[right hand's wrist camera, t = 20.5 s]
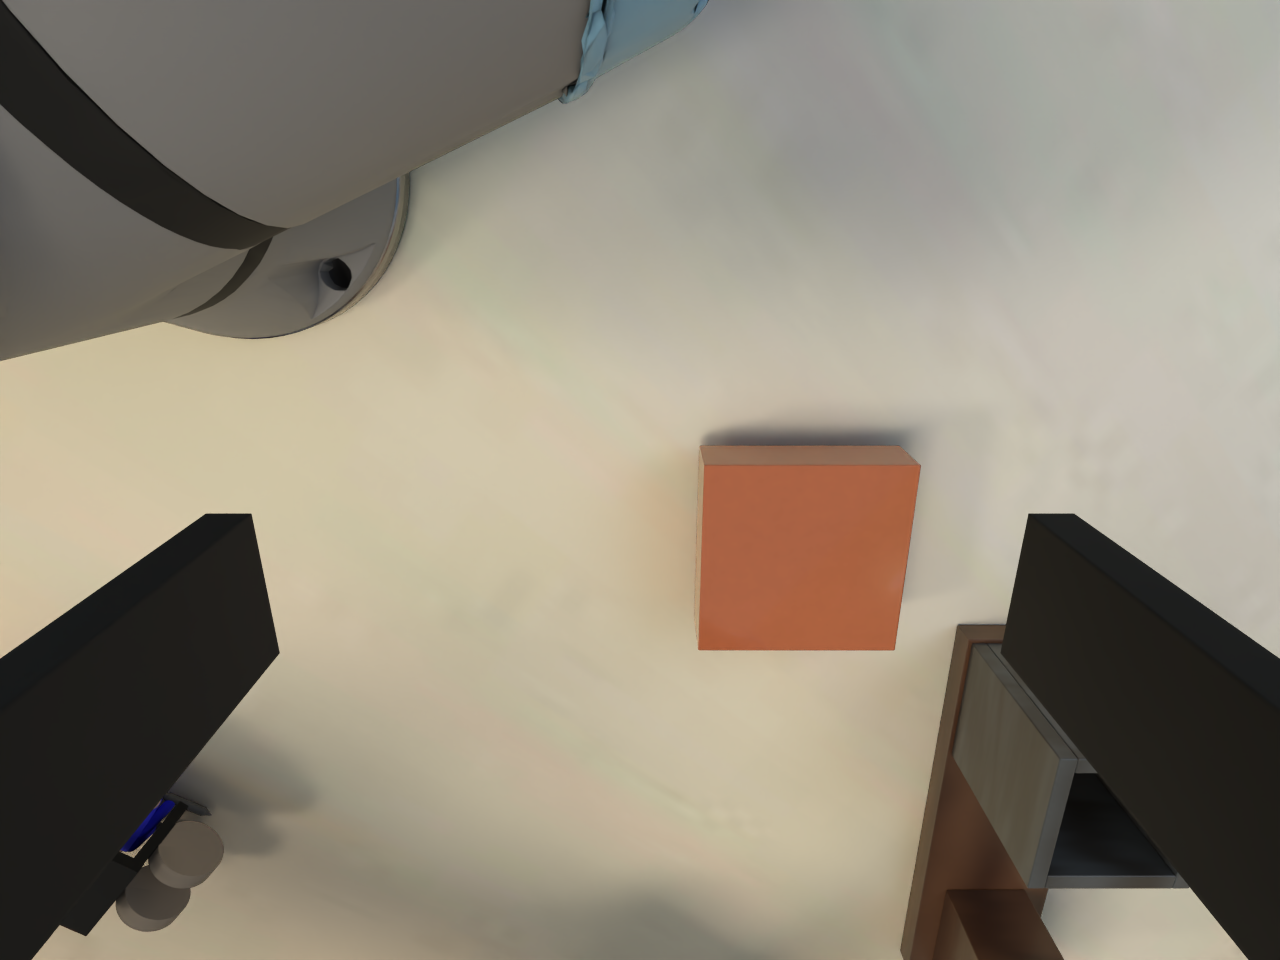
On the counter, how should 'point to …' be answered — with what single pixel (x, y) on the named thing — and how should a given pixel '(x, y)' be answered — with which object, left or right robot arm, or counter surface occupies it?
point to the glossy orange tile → (802, 546)
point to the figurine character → (153, 871)
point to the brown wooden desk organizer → (1012, 820)
